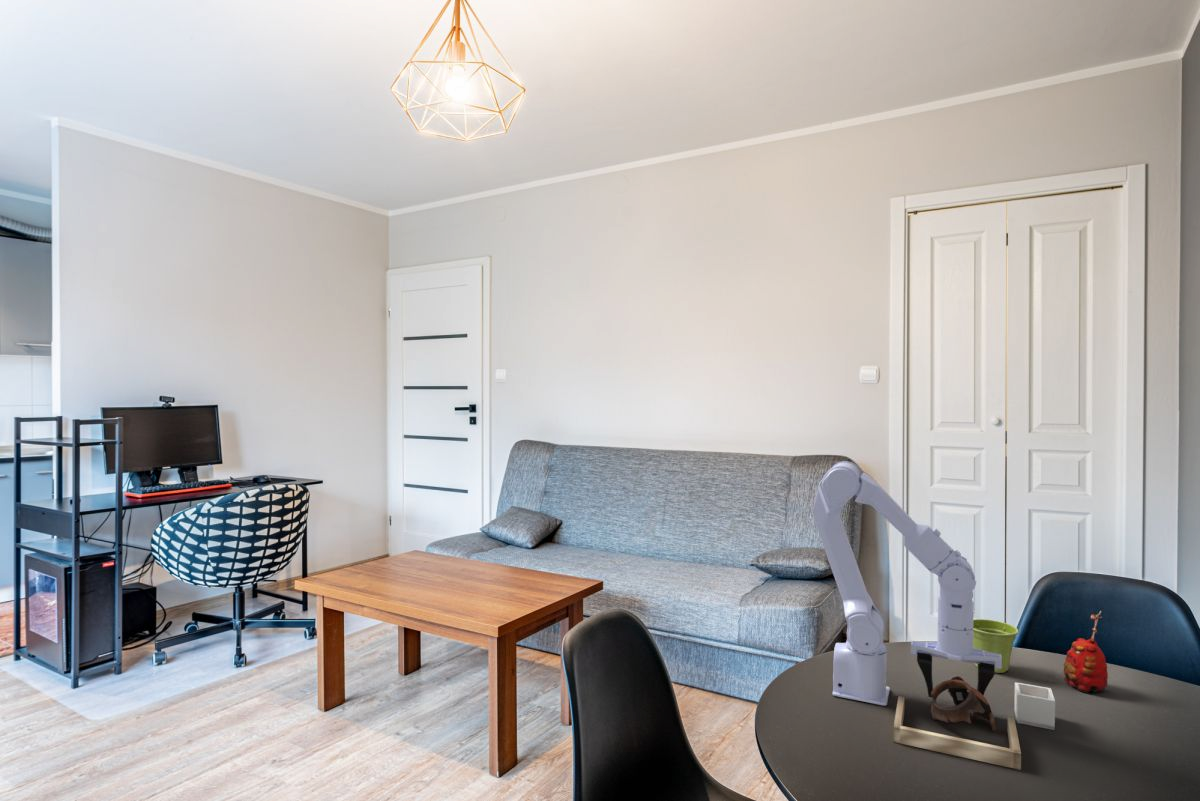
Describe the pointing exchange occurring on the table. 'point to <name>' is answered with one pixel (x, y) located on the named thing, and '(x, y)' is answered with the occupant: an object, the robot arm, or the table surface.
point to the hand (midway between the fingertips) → (954, 699)
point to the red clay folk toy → (1086, 664)
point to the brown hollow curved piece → (960, 703)
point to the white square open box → (1034, 706)
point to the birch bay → (959, 742)
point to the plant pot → (994, 639)
